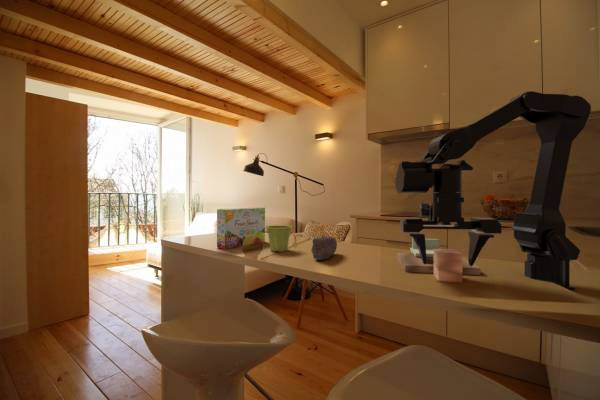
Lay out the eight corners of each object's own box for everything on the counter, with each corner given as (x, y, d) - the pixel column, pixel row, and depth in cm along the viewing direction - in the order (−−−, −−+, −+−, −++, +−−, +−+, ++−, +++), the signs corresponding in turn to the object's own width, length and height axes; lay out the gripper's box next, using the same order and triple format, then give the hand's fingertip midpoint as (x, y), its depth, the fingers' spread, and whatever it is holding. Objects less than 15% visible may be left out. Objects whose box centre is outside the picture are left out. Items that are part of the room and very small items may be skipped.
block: (455, 280, 63) (455, 249, 63) (462, 287, 58) (462, 253, 58) (433, 279, 64) (433, 248, 64) (438, 285, 59) (438, 252, 59)
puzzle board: (458, 265, 77) (458, 254, 77) (480, 281, 63) (480, 268, 63) (397, 263, 80) (397, 253, 80) (405, 277, 67) (405, 265, 67)
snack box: (225, 249, 105) (225, 209, 104) (216, 248, 108) (215, 208, 108) (266, 241, 121) (265, 206, 121) (256, 240, 125) (256, 206, 125)
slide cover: (440, 251, 81) (439, 239, 81) (448, 257, 73) (448, 243, 73) (410, 250, 82) (410, 238, 82) (415, 256, 75) (415, 243, 75)
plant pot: (282, 246, 109) (281, 224, 109) (297, 250, 102) (297, 226, 101) (261, 250, 103) (260, 226, 103) (276, 254, 96) (275, 228, 95)
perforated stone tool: (328, 252, 97) (328, 232, 97) (342, 254, 95) (342, 233, 95) (307, 261, 85) (306, 238, 84) (322, 263, 82) (322, 239, 82)
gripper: (479, 192, 67) (479, 258, 67) (396, 193, 71) (397, 255, 71) (502, 191, 56) (502, 270, 56) (403, 193, 60) (403, 266, 60)
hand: (447, 264), depth 61 cm, fingers open, 9 cm apart
